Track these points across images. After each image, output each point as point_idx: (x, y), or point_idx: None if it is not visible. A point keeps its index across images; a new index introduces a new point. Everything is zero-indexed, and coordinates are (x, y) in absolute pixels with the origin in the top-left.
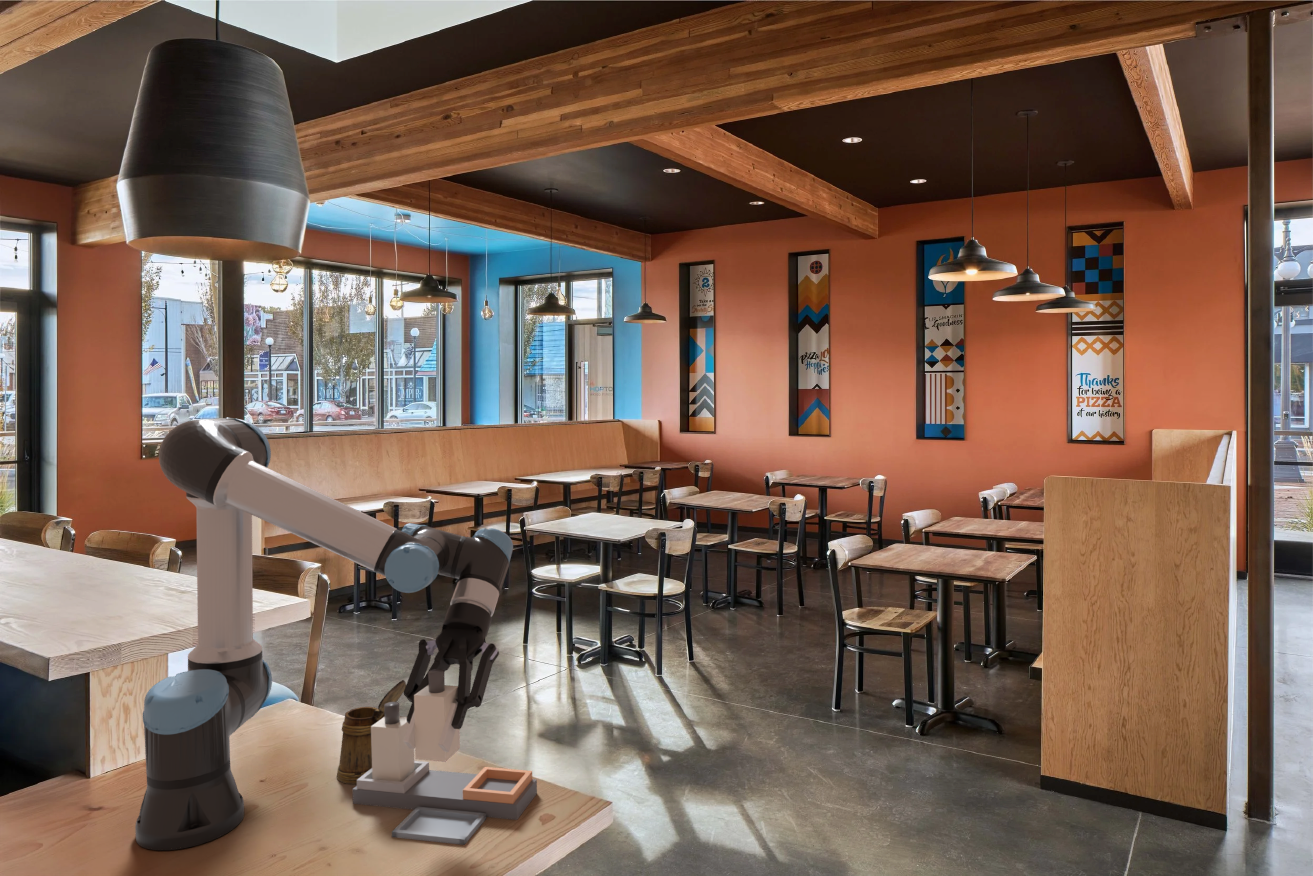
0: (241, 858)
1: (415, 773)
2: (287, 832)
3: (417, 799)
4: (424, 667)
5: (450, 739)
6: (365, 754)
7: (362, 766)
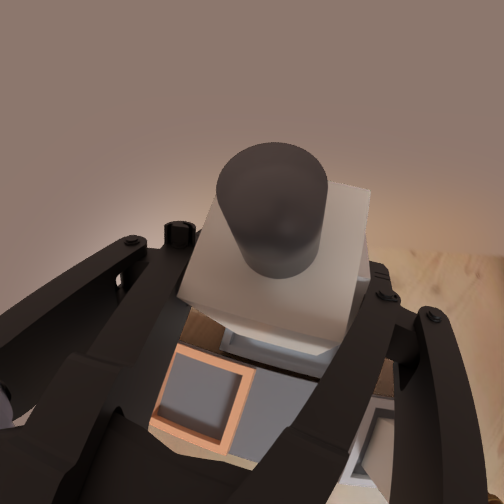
0: (501, 269)
1: (357, 440)
2: (487, 328)
3: None
4: (409, 470)
5: None
6: None
7: None
